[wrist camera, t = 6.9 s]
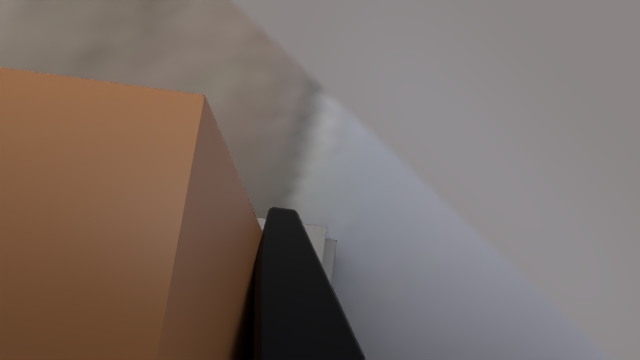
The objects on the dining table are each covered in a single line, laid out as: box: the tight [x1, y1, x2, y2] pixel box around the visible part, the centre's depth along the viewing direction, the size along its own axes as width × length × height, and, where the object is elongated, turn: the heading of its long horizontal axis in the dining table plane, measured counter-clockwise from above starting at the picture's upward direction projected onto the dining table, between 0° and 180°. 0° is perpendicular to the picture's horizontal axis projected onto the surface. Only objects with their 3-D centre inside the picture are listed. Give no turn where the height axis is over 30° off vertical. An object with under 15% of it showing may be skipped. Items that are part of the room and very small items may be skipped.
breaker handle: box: [0, 67, 326, 360], centre depth 8 cm, size 4×4×11 cm
